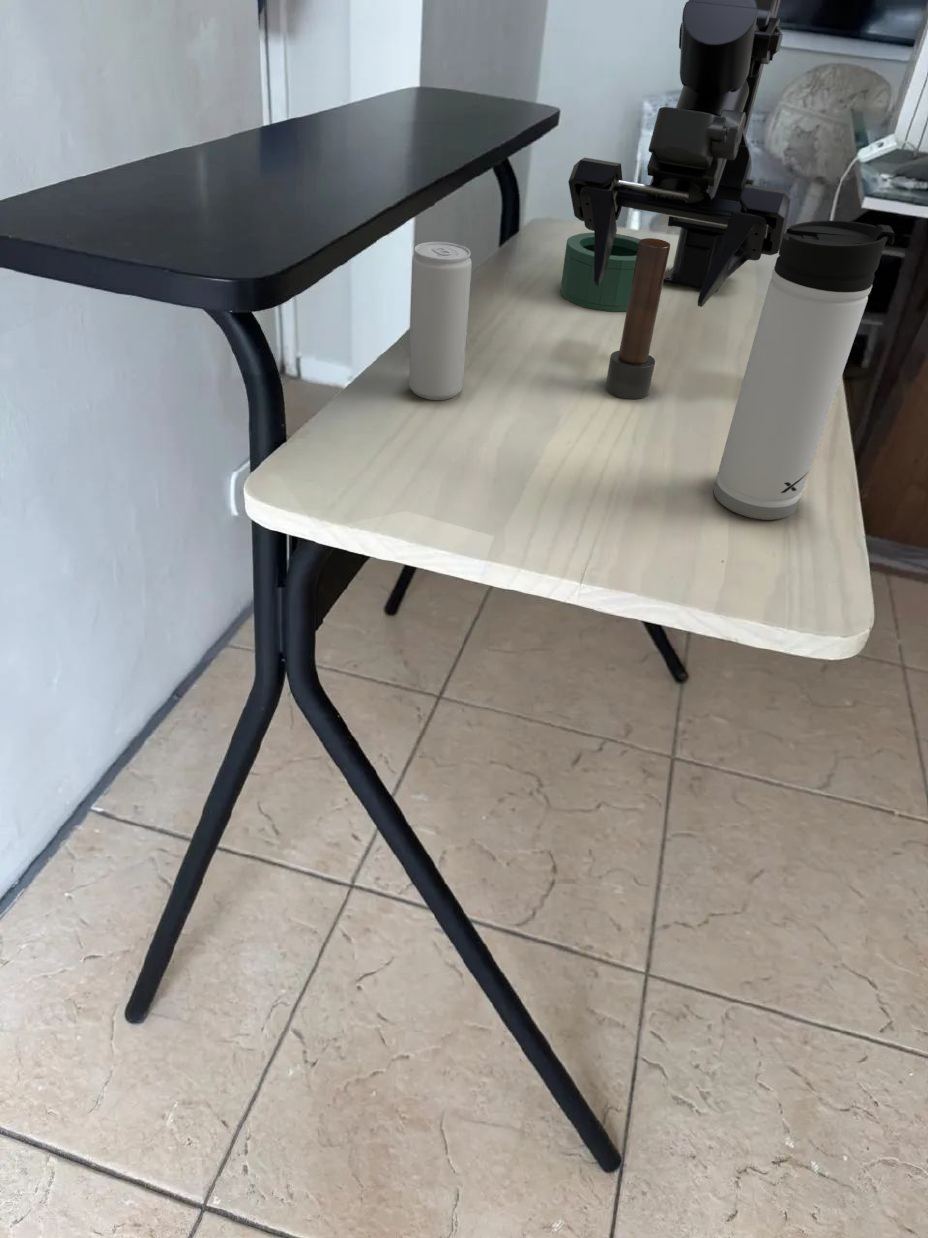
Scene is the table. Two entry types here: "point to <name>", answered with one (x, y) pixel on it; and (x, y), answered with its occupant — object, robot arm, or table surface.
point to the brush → (639, 324)
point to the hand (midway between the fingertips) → (647, 293)
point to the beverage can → (439, 319)
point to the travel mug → (797, 363)
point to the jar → (581, 273)
